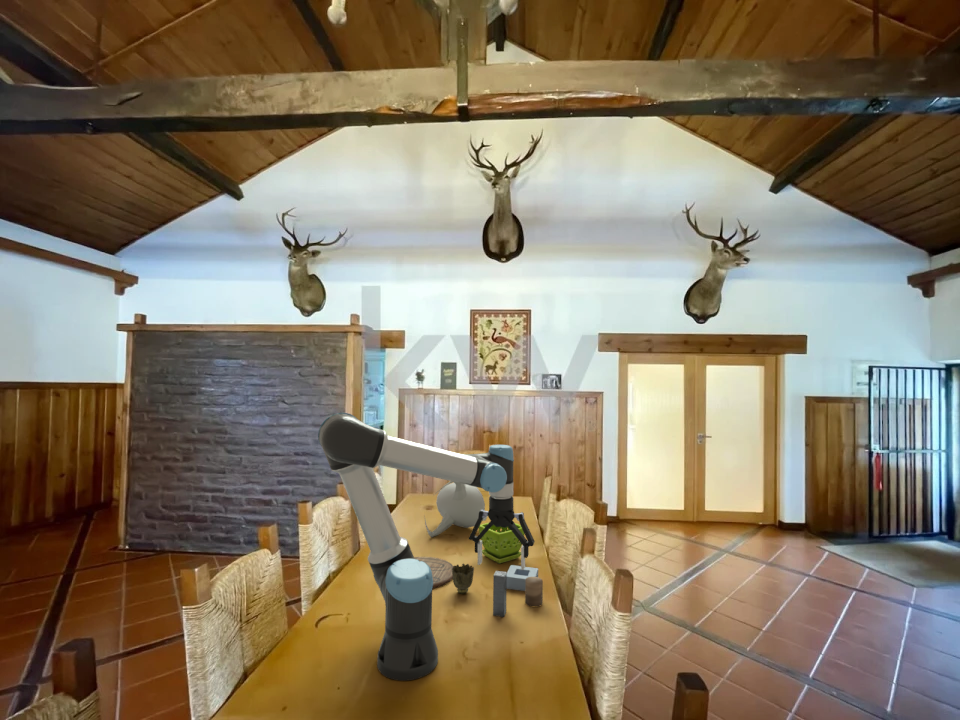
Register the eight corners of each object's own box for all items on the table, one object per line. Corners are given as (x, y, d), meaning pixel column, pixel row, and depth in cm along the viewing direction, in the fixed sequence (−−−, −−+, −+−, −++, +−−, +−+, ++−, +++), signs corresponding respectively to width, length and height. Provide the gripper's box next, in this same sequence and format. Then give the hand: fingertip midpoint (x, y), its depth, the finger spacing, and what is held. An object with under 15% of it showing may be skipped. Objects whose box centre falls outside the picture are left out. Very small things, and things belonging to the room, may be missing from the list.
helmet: (500, 489, 221) (455, 483, 195) (475, 545, 221) (426, 547, 194) (466, 466, 237) (419, 458, 210) (442, 519, 236) (393, 518, 209)
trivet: (443, 594, 153) (443, 588, 153) (373, 586, 158) (373, 581, 158) (461, 565, 178) (461, 560, 178) (400, 558, 183) (400, 554, 183)
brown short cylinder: (541, 607, 145) (541, 585, 145) (523, 605, 146) (524, 582, 146) (543, 599, 150) (543, 577, 150) (526, 597, 152) (527, 575, 152)
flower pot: (503, 548, 194) (504, 518, 195) (526, 559, 183) (526, 527, 184) (477, 555, 186) (477, 524, 187) (498, 567, 175) (499, 533, 175)
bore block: (534, 592, 155) (534, 580, 155) (504, 588, 158) (505, 576, 158) (538, 579, 165) (538, 568, 165) (510, 576, 167) (510, 565, 168)
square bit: (503, 617, 139) (504, 576, 139) (492, 615, 140) (493, 575, 140) (506, 611, 142) (506, 572, 143) (495, 610, 143) (496, 570, 143)
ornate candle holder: (454, 598, 150) (454, 573, 150) (449, 588, 157) (449, 564, 157) (476, 596, 152) (476, 571, 152) (470, 586, 159) (471, 562, 159)
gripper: (543, 495, 143) (543, 565, 142) (466, 490, 149) (466, 556, 148) (539, 502, 135) (540, 575, 135) (459, 496, 142) (458, 566, 141)
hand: (501, 565), depth 142 cm, fingers open, 13 cm apart
